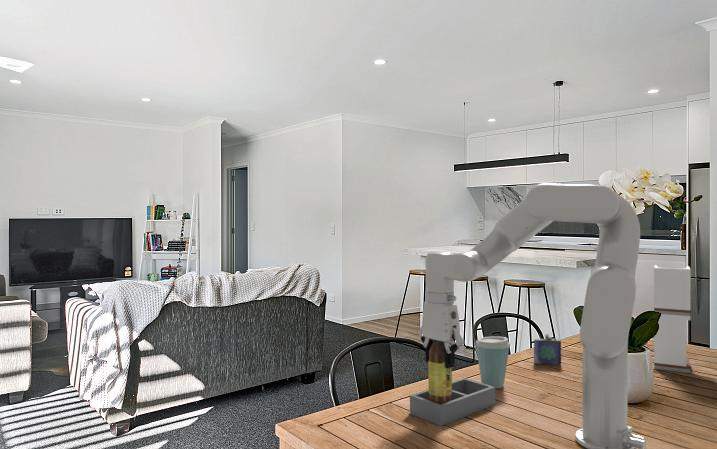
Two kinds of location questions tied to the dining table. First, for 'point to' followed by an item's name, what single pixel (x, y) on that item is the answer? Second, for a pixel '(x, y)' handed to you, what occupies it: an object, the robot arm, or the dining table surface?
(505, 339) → the disposable coffee cup
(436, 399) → the sauce bottle
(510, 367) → the dining table surface
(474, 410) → the dock
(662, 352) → the white square tower
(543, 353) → the flask
